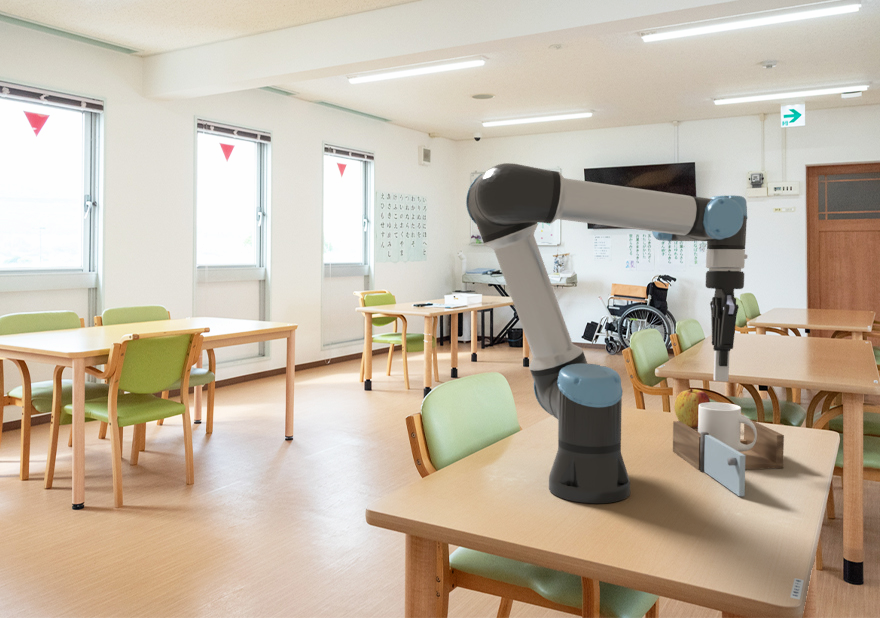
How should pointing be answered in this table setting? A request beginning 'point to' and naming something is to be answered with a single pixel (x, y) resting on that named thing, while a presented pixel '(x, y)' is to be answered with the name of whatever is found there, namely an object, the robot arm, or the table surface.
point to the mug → (724, 423)
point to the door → (725, 465)
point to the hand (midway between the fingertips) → (720, 380)
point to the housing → (758, 457)
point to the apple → (689, 406)
